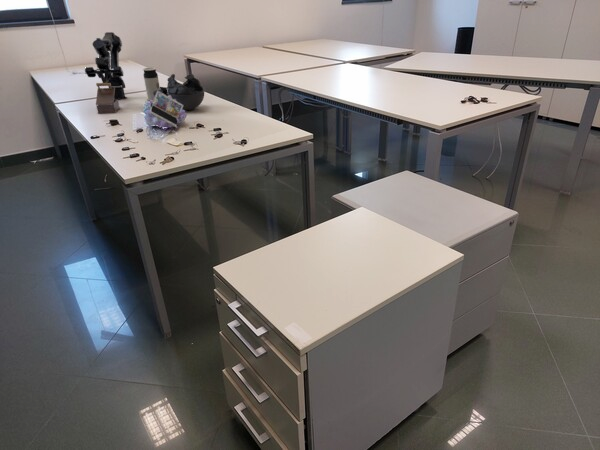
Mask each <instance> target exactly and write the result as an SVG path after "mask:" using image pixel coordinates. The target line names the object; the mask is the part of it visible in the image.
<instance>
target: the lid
mask: <svg viewBox="0 0 600 450" xmlns="http://www.w3.org/2000/svg"><path fill="white" fill-rule="evenodd" d="M95 86H96V87H97V90H96V91H97V92H96V99H95V105H102V104H114V93H115V88H111V84H110V83H103V82H96V84H95ZM108 86H109V87H110V88H109V87H108Z"/></svg>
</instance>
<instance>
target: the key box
mask: <svg viewBox="0 0 600 450" xmlns="http://www.w3.org/2000/svg"><path fill="white" fill-rule="evenodd" d="M95 105H96V104H95ZM119 109H120V103H119V100H118V99H114V104H102V105H96V110H97V114H100V115H102V114H117V112H118V111H119Z"/></svg>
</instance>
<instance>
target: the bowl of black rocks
mask: <svg viewBox="0 0 600 450" xmlns="http://www.w3.org/2000/svg"><path fill="white" fill-rule="evenodd" d="M175 77H176V75H175V74H174V73H171V75H170V76H169V77H168V78H167V79H166V80H167V86H166V88H167V91H168V92H167V95H168V96H170V95H171V97H172V99H176V101H177V102H179V103H181V104H182V105H184V106H183V108H182V110H185V111H192V110H195V109H197V108H198V107H199V106H200V105H201V104H202V103H203V100H204V99H205V90H204V88H203V85H201V82H200V79H198V78H196V77H195V75H194V74H193V73H189V74H188V75H186V76H185V77H184V79H186V80H185V81H184V82H183V83H181V82H178V80H177V79H175Z"/></svg>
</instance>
